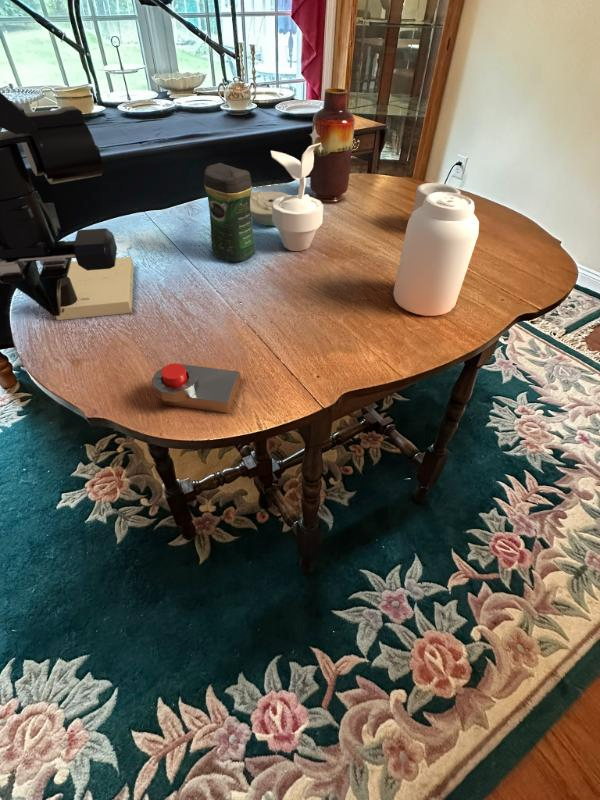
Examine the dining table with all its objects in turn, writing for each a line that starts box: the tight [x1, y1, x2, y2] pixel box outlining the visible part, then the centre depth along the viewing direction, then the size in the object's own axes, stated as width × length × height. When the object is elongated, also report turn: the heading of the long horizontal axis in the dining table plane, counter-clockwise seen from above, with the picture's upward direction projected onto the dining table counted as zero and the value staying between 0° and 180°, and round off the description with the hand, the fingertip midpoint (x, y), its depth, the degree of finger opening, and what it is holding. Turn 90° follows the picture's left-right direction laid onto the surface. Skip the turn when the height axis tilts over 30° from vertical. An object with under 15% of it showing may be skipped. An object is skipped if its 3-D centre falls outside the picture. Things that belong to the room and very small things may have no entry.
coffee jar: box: [203, 162, 256, 263], centre depth 93 cm, size 10×8×19 cm
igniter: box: [151, 363, 241, 414], centre depth 65 cm, size 11×8×4 cm
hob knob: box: [60, 277, 77, 307], centre depth 77 cm, size 4×4×4 cm
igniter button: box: [161, 363, 187, 388], centre depth 62 cm, size 3×3×2 cm
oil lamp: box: [250, 191, 291, 226], centre depth 113 cm, size 21×14×5 cm
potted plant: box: [270, 127, 324, 252], centre depth 95 cm, size 13×12×25 cm
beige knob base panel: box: [55, 256, 135, 321], centre depth 84 cm, size 15×20×3 cm
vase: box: [309, 87, 356, 204], centre depth 118 cm, size 11×11×26 cm
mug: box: [411, 182, 462, 214], centre depth 110 cm, size 14×11×10 cm
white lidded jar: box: [392, 192, 480, 317], centre depth 81 cm, size 12×12×20 cm
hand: (57, 314), depth 58 cm, fingers closed
